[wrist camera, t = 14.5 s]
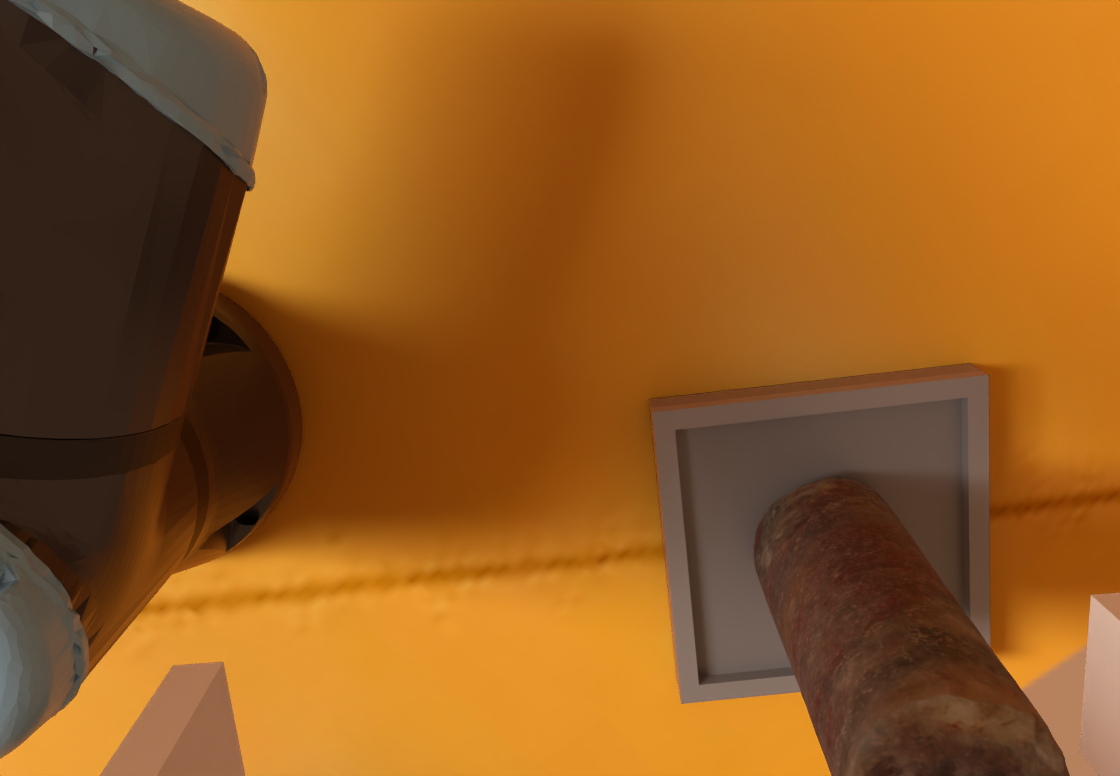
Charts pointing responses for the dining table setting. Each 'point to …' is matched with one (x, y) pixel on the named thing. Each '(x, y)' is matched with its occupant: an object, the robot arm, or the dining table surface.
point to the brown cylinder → (888, 646)
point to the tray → (798, 460)
